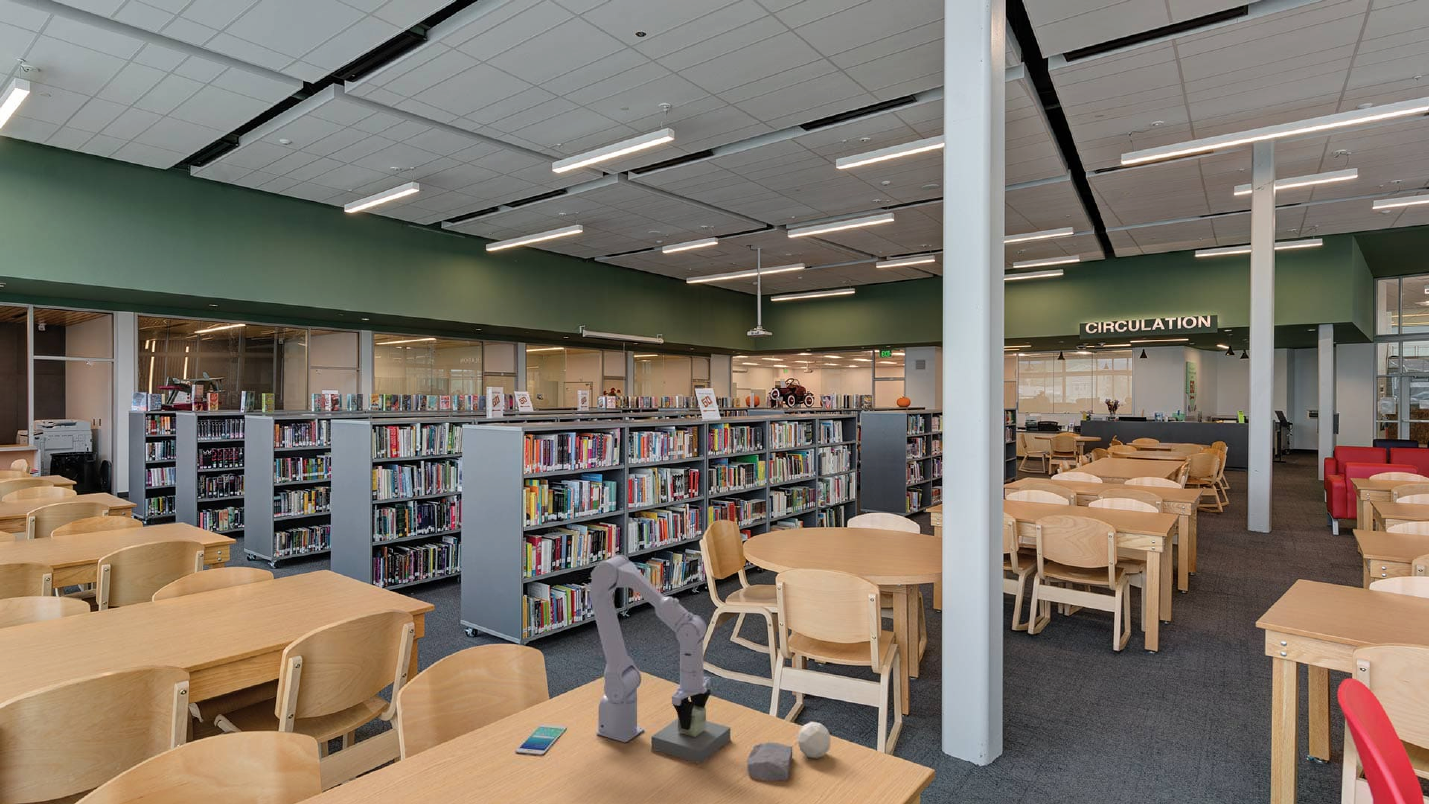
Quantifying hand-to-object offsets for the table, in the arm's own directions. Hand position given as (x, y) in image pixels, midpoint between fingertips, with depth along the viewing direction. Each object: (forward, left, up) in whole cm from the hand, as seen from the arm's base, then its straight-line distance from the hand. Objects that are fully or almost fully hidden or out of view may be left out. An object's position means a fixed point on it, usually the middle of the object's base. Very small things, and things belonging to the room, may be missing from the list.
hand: (691, 724), depth 173 cm
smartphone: (-33, -17, -6) cm, 38 cm away
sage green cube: (0, 0, -2) cm, 2 cm away
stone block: (+21, 0, -5) cm, 22 cm away
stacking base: (0, 0, -5) cm, 5 cm away
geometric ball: (+28, +10, -5) cm, 30 cm away
